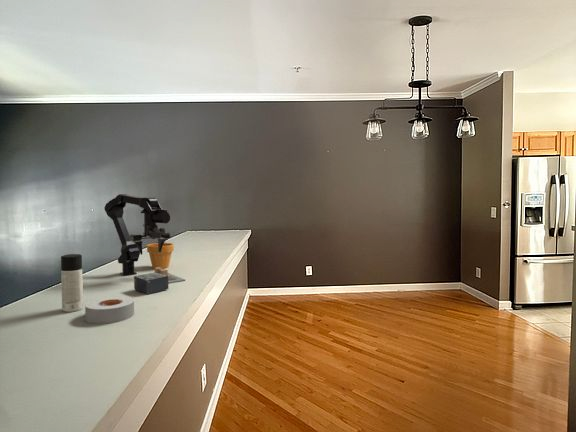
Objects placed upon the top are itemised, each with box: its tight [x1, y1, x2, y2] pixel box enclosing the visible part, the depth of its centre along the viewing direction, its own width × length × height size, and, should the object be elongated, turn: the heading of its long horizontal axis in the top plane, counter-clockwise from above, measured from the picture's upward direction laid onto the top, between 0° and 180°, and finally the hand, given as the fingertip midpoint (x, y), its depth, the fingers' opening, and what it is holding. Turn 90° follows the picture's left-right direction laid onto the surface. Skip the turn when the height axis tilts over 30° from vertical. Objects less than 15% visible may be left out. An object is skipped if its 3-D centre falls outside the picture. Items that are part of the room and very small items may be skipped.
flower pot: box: [146, 242, 174, 269], centre depth 210 cm, size 14×14×13 cm
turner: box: [154, 267, 176, 281], centre depth 182 cm, size 14×7×4 cm, turn 43°
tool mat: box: [168, 272, 186, 285], centre depth 183 cm, size 22×13×1 cm, turn 43°
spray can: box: [60, 253, 84, 313], centre depth 134 cm, size 7×7×20 cm
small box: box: [133, 272, 170, 295], centre depth 162 cm, size 11×6×10 cm
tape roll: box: [84, 296, 135, 325], centre depth 129 cm, size 15×15×5 cm
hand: (150, 253), depth 185 cm, fingers open, 9 cm apart
